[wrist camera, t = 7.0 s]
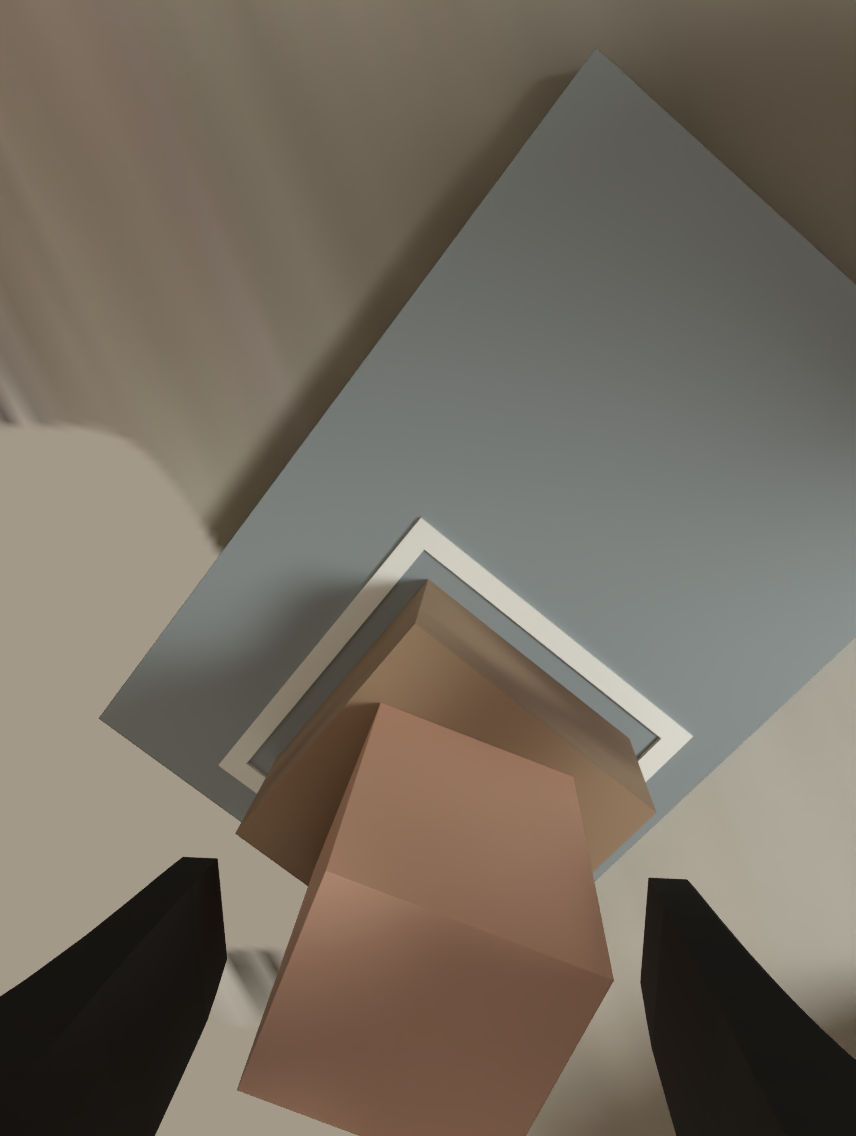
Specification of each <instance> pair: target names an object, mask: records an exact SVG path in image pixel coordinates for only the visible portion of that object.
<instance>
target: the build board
mask: <svg viewBox="0 0 856 1136" xmlns="http://www.w3.org/2000/svg"><path fill="white" fill-rule="evenodd" d="M428 579H429V580H430V581H431V582H433V583H434V584H435V585H436V586H438V587H439V588H440V589H442V590H443V591H444V592H445V593H447V594H448V595H449V596H450V597H452V598H453V599H454V600H455V601H457V602H458V603H459V604H460V605H462V606H463V607H464V608H465V609H467V610H468V611H469V612H471V613H472V614H473V615H474V616H476V617H477V618H478V619H479V620H481V621H482V622H483V623H484V624H486V625H487V626H488V627H489V628H491V629H492V630H493V631H494V632H496V633H497V634H498V635H500V636H501V637H502V638H503V639H505V640H506V641H507V642H508V643H510V644H511V645H512V646H513V647H515V648H516V649H517V650H518V651H520V652H521V653H522V654H523V655H525V656H526V657H527V658H529V659H530V660H531V661H532V662H534V663H535V664H536V665H537V666H539V667H540V668H541V669H542V670H544V671H545V672H546V673H547V674H549V675H550V676H551V677H552V678H554V679H555V680H556V681H558V682H559V683H560V684H561V685H563V686H564V687H565V688H566V689H568V690H569V691H570V692H571V693H573V694H574V695H575V696H576V697H578V698H579V699H580V700H581V701H583V702H584V703H585V704H587V705H588V706H589V707H590V708H592V709H593V710H594V711H595V712H597V713H598V714H599V715H600V716H602V717H603V718H604V719H605V720H607V721H608V722H609V723H610V724H612V725H613V726H614V727H616V728H617V729H618V730H619V731H621V732H622V733H623V734H624V735H626V736H627V737H628V738H629V739H630V742H631V744H632V747H633V750H634V753H635V755H636V758H637V761H638V763H639V766H640V769H641V772H642V774H643V777H644V780H645V783H646V785H647V788H648V791H649V794H650V796H651V799H652V802H653V804H654V807H655V810H656V813H655V814H654V815H653V816H652V817H651V818H650V819H649V820H648V821H647V822H646V823H645V824H644V825H643V826H641V827H640V828H639V829H638V830H637V831H636V832H635V833H634V834H633V835H632V836H631V837H630V838H629V839H628V840H627V841H626V842H624V843H623V844H622V845H621V846H620V847H619V848H618V849H617V850H616V851H615V852H614V853H613V854H612V855H611V856H610V857H609V858H607V859H606V860H605V861H604V862H603V863H602V864H601V865H600V866H599V867H598V868H597V869H596V870H595V871H594V872H593V878H594V882H595V881H596V880H597V879H598V878H599V877H600V876H601V875H602V874H603V873H604V872H605V871H606V870H607V869H609V868H610V867H611V866H612V865H613V864H614V863H615V862H616V861H617V860H618V859H619V858H620V857H621V856H622V855H623V854H625V853H626V852H627V851H628V850H629V849H630V848H631V847H632V846H633V845H634V844H635V843H636V842H637V841H638V840H640V839H641V838H642V837H643V836H644V835H645V834H646V833H647V832H648V831H649V830H650V829H651V828H652V827H653V826H654V825H656V824H657V823H658V822H659V821H660V820H661V819H662V818H663V817H664V816H665V815H666V814H667V813H668V812H669V811H670V810H672V809H673V808H674V807H675V806H676V805H677V804H678V803H679V802H680V801H681V800H682V799H683V798H684V797H685V796H686V795H688V794H689V793H690V792H691V791H692V790H693V789H694V788H695V787H696V786H697V785H698V784H699V783H700V782H701V781H702V780H704V779H705V778H706V777H707V776H708V775H709V774H710V773H711V772H712V771H713V770H714V769H715V768H716V767H717V766H718V765H720V764H721V763H722V762H723V761H724V760H725V759H726V758H727V757H728V756H729V755H730V754H731V753H732V752H733V751H735V750H736V749H737V748H738V747H739V746H740V745H741V744H742V743H743V742H744V741H745V740H746V739H747V738H748V737H749V736H751V735H752V734H753V733H754V732H755V731H756V730H757V729H758V728H759V727H760V726H761V725H762V724H763V723H764V722H765V721H767V720H768V719H769V718H770V717H771V716H772V715H773V714H774V713H775V712H776V711H777V710H778V709H779V708H780V707H781V706H783V705H784V704H785V703H786V702H787V701H788V700H789V699H790V698H791V697H792V696H793V695H794V694H795V693H796V692H797V691H799V690H800V689H801V688H802V687H803V686H804V685H805V684H806V683H807V682H808V681H809V680H810V679H811V678H812V677H813V676H815V675H816V674H817V673H818V672H819V671H820V670H821V669H822V668H823V667H824V666H825V665H826V664H827V663H828V662H830V661H831V660H832V659H833V658H834V657H835V656H836V655H837V654H838V653H839V652H840V651H841V650H842V649H843V648H844V647H846V646H847V645H848V644H849V643H850V642H851V641H852V640H853V639H854V638H855V637H856V284H855V283H854V282H852V281H851V280H850V279H849V278H848V277H847V276H846V275H845V274H844V273H843V272H842V271H840V270H839V269H838V268H837V267H836V266H835V265H834V264H833V263H832V262H831V261H829V260H828V259H827V258H826V257H825V256H824V255H823V254H822V253H821V252H820V251H819V250H817V249H816V248H815V247H814V246H813V245H812V244H811V243H810V242H809V241H808V240H806V239H805V238H804V237H803V236H802V235H801V234H800V233H799V232H798V231H797V230H796V229H794V228H793V227H792V226H791V225H790V224H789V223H788V222H787V221H786V220H785V219H783V218H782V217H781V216H780V215H779V214H778V213H777V212H776V211H775V210H774V209H773V208H771V207H770V206H769V205H768V204H767V203H766V202H765V201H764V200H763V199H762V198H760V197H759V196H758V195H757V194H756V193H755V192H754V191H753V190H752V189H751V188H749V187H748V186H747V185H746V184H745V183H744V182H743V181H742V180H741V179H740V178H739V177H737V176H736V175H735V174H734V173H733V172H732V171H731V170H730V169H729V168H728V167H726V166H725V165H724V164H723V163H722V162H721V161H720V160H719V159H718V158H717V157H716V156H714V155H713V154H712V153H711V152H710V151H709V150H708V149H707V148H706V147H705V146H703V145H702V144H701V143H700V142H699V141H698V140H697V139H696V138H695V137H694V136H693V135H691V134H690V133H689V132H688V131H687V130H686V129H685V128H684V127H683V126H682V125H680V124H679V123H678V122H677V121H676V120H675V119H674V118H673V117H672V116H671V115H670V114H668V113H667V112H666V111H665V110H664V109H663V108H662V107H661V106H660V105H659V104H657V103H656V102H655V101H654V100H653V99H652V98H651V97H650V96H649V95H648V94H647V93H645V92H644V91H643V90H642V89H641V88H640V87H639V86H638V85H637V84H636V83H634V82H633V81H632V80H631V79H630V78H629V77H628V76H627V75H626V74H625V73H624V72H622V71H621V70H620V69H619V68H618V67H617V66H616V65H615V64H614V63H613V62H611V61H610V60H609V59H608V58H607V57H606V56H605V55H604V54H603V53H602V52H601V51H599V50H598V49H597V48H595V50H594V51H593V52H592V54H591V55H590V57H589V58H588V59H587V61H586V62H585V63H584V65H583V66H582V67H581V69H580V70H579V71H578V73H577V74H576V75H575V77H574V78H573V79H572V81H571V82H570V83H569V85H568V86H567V88H566V89H565V90H564V92H563V93H562V94H561V96H560V97H559V98H558V100H557V101H556V102H555V104H554V105H553V106H552V108H551V109H550V110H549V112H548V113H547V115H546V116H545V117H544V119H543V120H542V121H541V123H540V124H539V125H538V127H537V128H536V129H535V131H534V132H533V133H532V135H531V136H530V137H529V139H528V140H527V141H526V143H525V144H524V146H523V147H522V148H521V150H520V151H519V152H518V154H517V155H516V156H515V158H514V159H513V160H512V162H511V163H510V164H509V166H508V167H507V168H506V170H505V171H504V172H503V174H502V175H501V177H500V178H499V179H498V181H497V182H496V183H495V185H494V186H493V187H492V189H491V190H490V191H489V193H488V194H487V195H486V197H485V198H484V199H483V201H482V202H481V204H480V205H479V206H478V208H477V209H476V210H475V212H474V213H473V214H472V216H471V217H470V218H469V220H468V221H467V222H466V224H465V225H464V226H463V228H462V229H461V230H460V232H459V233H458V235H457V236H456V237H455V239H454V240H453V241H452V243H451V244H450V245H449V247H448V248H447V249H446V251H445V252H444V253H443V255H442V256H441V257H440V259H439V260H438V261H437V263H436V264H435V266H434V267H433V268H432V270H431V271H430V272H429V274H428V275H427V276H426V278H425V279H424V280H423V282H422V283H421V284H420V286H419V287H418V288H417V290H416V291H415V293H414V294H413V295H412V297H411V298H410V299H409V301H408V302H407V303H406V305H405V306H404V307H403V309H402V310H401V311H400V313H399V314H398V315H397V317H396V318H395V319H394V321H393V322H392V324H391V325H390V326H389V328H388V329H387V330H386V332H385V333H384V334H383V336H382V337H381V338H380V340H379V341H378V342H377V344H376V345H375V346H374V348H373V349H372V351H371V352H370V353H369V355H368V356H367V357H366V359H365V360H364V361H363V363H362V364H361V365H360V367H359V368H358V369H357V371H356V372H355V373H354V375H353V376H352V377H351V379H350V380H349V382H348V383H347V384H346V386H345V387H344V388H343V390H342V391H341V392H340V394H339V395H338V396H337V398H336V399H335V400H334V402H333V403H332V404H331V406H330V407H329V408H328V410H327V411H326V413H325V414H324V415H323V417H322V418H321V419H320V421H319V422H318V423H317V425H316V426H315V427H314V429H313V430H312V431H311V433H310V434H309V435H308V437H307V438H306V440H305V441H304V442H303V444H302V445H301V446H300V448H299V449H298V450H297V452H296V453H295V454H294V456H293V457H292V458H291V460H290V461H289V462H288V464H287V465H286V466H285V468H284V469H283V471H282V472H281V473H280V475H279V476H278V477H277V479H276V480H275V481H274V483H273V484H272V485H271V487H270V488H269V489H268V491H267V492H266V493H265V495H264V496H263V497H262V499H261V500H260V502H259V503H258V504H257V506H256V507H255V508H254V510H253V511H252V512H251V514H250V515H249V516H248V518H247V519H246V520H245V522H244V523H243V524H242V526H241V527H240V529H239V530H238V531H237V533H236V534H235V535H234V537H233V538H232V539H231V541H230V542H229V543H228V545H227V546H226V547H225V549H224V550H223V551H222V553H221V554H220V555H219V557H218V558H217V560H216V561H215V562H214V564H213V565H212V567H211V568H210V569H209V570H208V572H207V573H206V574H205V576H204V577H203V578H202V580H201V581H200V582H199V584H198V585H197V587H196V588H195V589H194V591H193V592H192V593H191V595H190V596H189V597H188V599H187V600H186V601H185V603H184V604H183V605H182V607H181V608H180V609H179V611H178V612H177V614H176V615H175V616H174V618H173V619H172V620H171V622H170V623H169V624H168V626H167V627H166V628H165V630H164V631H163V632H162V634H161V635H160V636H159V638H158V639H157V640H156V642H155V643H154V644H153V646H152V647H151V649H150V650H149V651H148V653H147V654H146V655H145V657H144V658H143V659H142V661H141V662H140V663H139V665H138V666H137V667H136V669H135V670H134V672H133V673H132V674H131V676H130V677H129V678H128V680H127V681H126V682H125V684H124V685H123V686H122V688H121V689H120V691H119V692H118V693H117V694H116V696H115V697H114V699H113V700H112V701H111V702H110V704H109V705H108V707H107V708H106V709H105V711H104V712H103V713H102V715H101V716H100V717H99V719H100V720H101V721H103V722H104V723H106V724H107V725H108V726H110V727H111V728H113V729H114V730H115V731H117V732H118V733H119V734H121V735H122V736H124V737H125V738H126V739H128V740H129V741H130V742H132V743H133V744H134V745H136V746H137V747H139V748H140V749H141V750H143V751H144V752H145V753H147V754H148V755H150V756H151V757H152V758H154V759H155V760H156V761H158V762H159V763H161V764H162V765H163V766H165V767H166V768H168V769H169V770H170V771H172V772H173V773H174V774H176V775H177V776H179V777H180V778H181V779H183V780H184V781H185V782H187V783H188V784H190V785H191V786H192V787H194V788H195V789H196V790H198V791H199V792H201V793H202V794H203V795H205V796H206V797H207V798H209V799H210V800H212V801H213V802H214V803H216V804H217V805H218V806H220V807H221V808H223V809H224V810H225V811H227V812H228V813H229V814H231V815H232V816H234V817H235V818H236V819H238V820H239V821H240V822H242V820H243V819H244V817H245V815H246V813H247V811H248V809H249V808H250V806H251V804H252V802H253V800H254V798H255V797H256V795H257V793H258V791H259V789H260V787H261V785H262V784H263V782H264V780H265V778H266V776H267V774H268V773H269V771H270V769H271V767H272V765H273V763H274V762H275V760H276V759H277V757H278V756H279V755H280V754H281V753H282V752H283V750H284V749H285V748H286V747H287V746H288V744H289V743H290V742H291V741H292V740H293V739H294V737H295V736H296V735H297V734H298V733H299V731H300V730H301V729H302V728H303V727H304V725H305V724H306V723H307V722H308V721H309V720H310V718H311V717H312V716H313V715H314V714H315V712H316V711H317V710H318V709H319V708H320V707H321V705H322V704H323V703H324V702H325V701H326V699H327V698H328V697H329V696H330V695H331V694H332V692H333V691H334V690H335V689H336V688H337V686H338V685H339V684H340V683H341V682H342V680H343V679H344V678H345V677H346V676H347V675H348V673H349V672H350V671H351V670H352V669H353V667H354V666H355V665H356V664H357V663H358V662H359V660H360V659H361V658H362V657H363V656H364V654H365V653H366V652H367V651H368V650H369V649H370V647H371V646H372V645H373V644H374V643H375V641H376V640H377V639H378V638H379V637H380V635H381V634H382V633H383V632H384V631H385V630H386V628H387V627H388V626H389V625H390V624H391V622H392V621H393V620H394V619H395V618H396V617H397V615H398V614H399V613H400V612H401V611H402V609H403V608H404V607H405V606H406V605H407V604H408V602H409V601H410V600H411V599H412V598H413V596H414V595H415V594H416V593H417V592H418V590H419V589H420V588H421V587H422V586H423V585H424V583H425V582H426V581H427V580H428Z"/></svg>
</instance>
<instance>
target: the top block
mask: <svg viewBox="0 0 856 1136" xmlns="http://www.w3.org/2000/svg"><path fill="white" fill-rule="evenodd" d="M613 981H614V979H613V974H612V969H611V964H610V959H609V954H608V949H607V944H606V939H605V934H604V929H603V923H602V918H601V913H600V908H599V903H598V898H597V893H596V888H595V883H594V878H593V873H592V868H591V863H590V858H589V853H588V848H587V843H586V838H585V832H584V827H583V822H582V817H581V812H580V807H579V802H578V797H577V792H576V787H575V782H574V777H572V776H569V775H567V774H564V773H562V772H559V771H556V770H554V769H551V768H549V767H546V766H544V765H541V764H538V763H536V762H533V761H531V760H528V759H525V758H523V757H520V756H518V755H515V754H512V753H510V752H507V751H505V750H502V749H499V748H497V747H494V746H492V745H489V744H487V743H484V742H481V741H479V740H476V739H474V738H471V737H468V736H466V735H463V734H461V733H458V732H455V731H453V730H450V729H448V728H445V727H442V726H440V725H437V724H435V723H432V722H430V721H427V720H424V719H422V718H419V717H417V716H414V715H411V714H409V713H406V712H404V711H401V710H398V709H396V708H393V707H391V706H388V705H385V704H383V703H380V706H379V708H378V711H377V713H376V716H375V718H374V721H373V723H372V726H371V728H370V731H369V733H368V736H367V738H366V741H365V743H364V746H363V748H362V751H361V753H360V756H359V758H358V761H357V763H356V766H355V768H354V771H353V773H352V776H351V778H350V781H349V783H348V786H347V788H346V791H345V793H344V796H343V798H342V801H341V803H340V806H339V808H338V811H337V813H336V816H335V818H334V821H333V823H332V826H331V828H330V831H329V833H328V836H327V838H326V841H325V843H324V846H323V848H322V851H321V853H320V856H319V858H318V861H317V863H316V866H315V868H314V871H313V874H312V877H311V880H310V883H309V886H308V888H307V891H306V894H305V897H304V900H303V903H302V906H301V909H300V911H299V914H298V917H297V920H296V923H295V926H294V929H293V931H292V934H291V937H290V940H289V943H288V946H287V948H286V951H285V954H284V957H283V960H282V963H281V966H280V968H279V971H278V974H277V977H276V980H275V983H274V986H273V988H272V991H271V994H270V997H269V1000H268V1003H267V1006H266V1008H265V1011H264V1014H263V1017H262V1020H261V1023H260V1026H259V1028H258V1031H257V1034H256V1037H255V1040H254V1043H253V1046H252V1048H251V1052H250V1054H249V1057H248V1060H247V1063H246V1066H245V1068H244V1071H243V1074H242V1077H241V1080H240V1083H239V1086H238V1088H237V1090H238V1091H241V1092H243V1093H246V1094H249V1095H251V1096H254V1097H257V1098H260V1099H262V1100H265V1101H267V1102H270V1103H273V1104H276V1105H278V1106H281V1107H284V1108H286V1109H289V1110H292V1111H294V1112H297V1113H300V1114H302V1115H305V1116H308V1117H310V1118H313V1119H316V1120H318V1121H321V1122H324V1123H327V1124H329V1125H332V1126H335V1127H337V1128H340V1129H343V1130H345V1131H348V1132H351V1133H353V1134H356V1135H359V1136H526V1134H527V1133H528V1131H529V1129H530V1127H531V1126H532V1124H533V1122H534V1120H535V1118H536V1117H537V1115H538V1113H539V1111H540V1110H541V1108H542V1106H543V1104H544V1103H545V1101H546V1099H547V1097H548V1096H549V1094H550V1092H551V1090H552V1088H553V1087H554V1085H555V1083H556V1081H557V1080H558V1078H559V1076H560V1074H561V1073H562V1071H563V1069H564V1067H565V1066H566V1064H567V1062H568V1060H569V1058H570V1057H571V1055H572V1053H573V1051H574V1050H575V1048H576V1046H577V1044H578V1043H579V1041H580V1039H581V1037H582V1035H583V1034H584V1032H585V1030H586V1028H587V1027H588V1025H589V1023H590V1021H591V1020H592V1018H593V1016H594V1014H595V1013H596V1011H597V1009H598V1007H599V1005H600V1004H601V1002H602V1000H603V998H604V997H605V995H606V993H607V991H608V990H609V988H610V986H611V984H612V983H613Z"/></svg>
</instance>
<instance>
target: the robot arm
mask: <svg viewBox="0 0 856 1136" xmlns="http://www.w3.org/2000/svg"><path fill="white" fill-rule="evenodd" d="M226 960H227V953H226V943H225V933H224V922H223V912H222V901H221V891H220V879H219V869H218V859H216V858H193V857H182V858H181V859H180V860H179V861H177V862H176V863H175V864H173V865H172V866H171V867H170V868H168V869H167V870H166V871H165V872H163V873H162V874H161V875H160V876H158V877H157V878H156V879H155V880H154V881H152V882H151V883H150V884H149V885H148V886H147V887H145V888H144V889H143V890H142V891H140V892H139V893H138V894H137V895H135V896H134V897H133V898H132V899H131V900H129V901H128V902H127V903H126V904H124V905H123V906H122V907H121V908H119V909H118V910H117V911H116V912H114V913H113V914H112V915H111V916H109V917H108V918H107V919H106V920H104V921H103V922H102V923H101V924H100V925H98V926H97V927H96V928H94V929H93V930H92V931H91V932H89V933H88V934H87V935H86V936H84V937H83V938H82V939H80V940H79V941H78V942H77V943H75V944H73V945H72V946H71V947H69V948H68V949H67V950H65V951H64V952H63V953H61V954H60V955H59V956H57V957H56V958H54V959H53V960H52V961H50V962H49V963H48V964H46V965H45V966H44V967H42V968H41V969H40V970H38V971H37V972H35V973H34V974H33V975H31V976H30V977H28V978H27V979H26V980H24V981H23V982H21V983H20V984H18V985H17V986H15V987H14V988H12V989H11V990H9V991H8V992H6V993H5V994H3V995H2V996H0V1136H155V1134H156V1132H157V1130H158V1128H159V1126H160V1123H161V1121H162V1119H163V1117H164V1115H165V1112H166V1110H167V1108H168V1106H169V1104H170V1101H171V1099H172V1097H173V1095H174V1092H175V1091H176V1089H177V1086H178V1084H179V1082H180V1080H181V1078H182V1075H183V1073H184V1071H185V1069H186V1067H187V1064H188V1062H189V1060H190V1058H191V1056H192V1053H193V1051H194V1049H195V1047H196V1045H197V1042H198V1040H199V1038H200V1035H201V1033H202V1031H203V1029H204V1027H205V1024H206V1022H207V1020H208V1017H209V1014H210V1011H211V1008H212V1005H213V1002H214V999H215V996H216V993H217V990H218V986H219V983H220V980H221V977H222V973H223V970H224V967H225V964H226ZM640 982H641V988H642V994H643V1000H644V1006H645V1013H646V1019H647V1024H648V1030H649V1035H650V1041H651V1047H652V1051H653V1054H654V1058H655V1062H656V1065H657V1069H658V1072H659V1076H660V1079H661V1083H662V1087H663V1090H664V1094H665V1097H666V1101H667V1104H668V1108H669V1111H670V1115H671V1118H672V1122H673V1125H674V1129H675V1132H676V1136H856V1060H855V1059H854V1058H853V1057H852V1056H851V1055H849V1054H848V1053H847V1052H846V1051H845V1050H844V1049H843V1048H841V1047H840V1046H839V1045H838V1044H837V1043H836V1042H835V1041H834V1040H833V1039H832V1038H831V1037H830V1036H829V1035H827V1034H826V1033H825V1032H824V1031H823V1030H822V1029H821V1028H820V1027H819V1026H818V1025H817V1024H816V1023H815V1022H814V1021H813V1020H812V1019H811V1018H810V1017H809V1016H808V1015H807V1014H806V1013H805V1012H804V1011H803V1010H802V1009H801V1008H800V1007H799V1006H798V1005H797V1004H796V1003H795V1002H794V1001H793V1000H792V999H791V998H790V997H789V996H788V995H787V994H786V993H785V991H784V990H783V989H782V988H781V987H780V986H779V985H778V984H777V983H776V982H775V981H774V980H773V979H772V977H771V976H770V975H769V974H768V973H767V972H766V971H765V970H764V969H763V968H762V966H761V965H760V964H759V963H758V962H757V961H756V960H755V959H754V958H753V957H752V955H751V954H750V953H749V952H748V951H747V950H746V949H745V947H744V946H743V945H742V944H741V943H740V942H739V941H738V939H737V938H736V937H735V936H734V935H733V933H732V932H731V931H730V930H729V929H728V928H727V926H726V925H725V924H724V923H723V922H722V920H721V919H720V918H719V917H718V916H717V914H716V913H715V912H714V911H713V910H712V908H711V907H710V906H709V905H708V903H707V902H706V901H705V900H704V899H703V897H702V896H701V895H700V894H699V892H698V891H697V890H696V889H695V888H694V886H693V885H692V884H691V883H690V882H689V881H688V880H686V879H664V878H649V880H648V892H647V905H646V918H645V930H644V943H643V956H642V969H641V981H640Z"/></svg>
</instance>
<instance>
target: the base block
mask: <svg viewBox="0 0 856 1136" xmlns="http://www.w3.org/2000/svg"><path fill="white" fill-rule="evenodd" d="M380 703H383V704H385V705H388V706H391V707H393V708H396V709H398V710H401V711H404V712H406V713H409V714H411V715H414V716H417V717H419V718H422V719H424V720H427V721H430V722H432V723H435V724H437V725H440V726H442V727H445V728H448V729H450V730H453V731H455V732H458V733H461V734H463V735H466V736H468V737H471V738H474V739H476V740H479V741H481V742H484V743H487V744H489V745H492V746H494V747H497V748H499V749H502V750H505V751H507V752H510V753H512V754H515V755H518V756H520V757H523V758H525V759H528V760H531V761H533V762H536V763H538V764H541V765H544V766H546V767H549V768H551V769H554V770H556V771H559V772H562V773H564V774H567V775H569V776H572V777H574V782H575V787H576V792H577V797H578V802H579V807H580V812H581V817H582V822H583V827H584V832H585V838H586V843H587V848H588V853H589V858H590V863H591V868H592V873H593V872H594V871H595V870H596V869H597V868H598V867H599V866H600V865H601V864H602V863H603V862H604V861H605V860H606V859H607V858H609V857H610V856H611V855H612V854H613V853H614V852H615V851H616V850H617V849H618V848H619V847H620V846H621V845H622V844H623V843H624V842H626V841H627V840H628V839H629V838H630V837H631V836H632V835H633V834H634V833H635V832H636V831H637V830H638V829H639V828H640V827H641V826H643V825H644V824H645V823H646V822H647V821H648V820H649V819H650V818H651V817H652V816H653V815H654V814H655V813H656V810H655V807H654V804H653V802H652V799H651V796H650V794H649V791H648V788H647V785H646V783H645V780H644V777H643V774H642V772H641V769H640V766H639V763H638V761H637V758H636V755H635V753H634V750H633V747H632V744H631V742H630V739H629V738H628V737H627V736H626V735H624V734H623V733H622V732H621V731H619V730H618V729H617V728H616V727H614V726H613V725H612V724H610V723H609V722H608V721H607V720H605V719H604V718H603V717H602V716H600V715H599V714H598V713H597V712H595V711H594V710H593V709H592V708H590V707H589V706H588V705H587V704H585V703H584V702H583V701H581V700H580V699H579V698H578V697H576V696H575V695H574V694H573V693H571V692H570V691H569V690H568V689H566V688H565V687H564V686H563V685H561V684H560V683H559V682H558V681H556V680H555V679H554V678H552V677H551V676H550V675H549V674H547V673H546V672H545V671H544V670H542V669H541V668H540V667H539V666H537V665H536V664H535V663H534V662H532V661H531V660H530V659H529V658H527V657H526V656H525V655H523V654H522V653H521V652H520V651H518V650H517V649H516V648H515V647H513V646H512V645H511V644H510V643H508V642H507V641H506V640H505V639H503V638H502V637H501V636H500V635H498V634H497V633H496V632H494V631H493V630H492V629H491V628H489V627H488V626H487V625H486V624H484V623H483V622H482V621H481V620H479V619H478V618H477V617H476V616H474V615H473V614H472V613H471V612H469V611H468V610H467V609H465V608H464V607H463V606H462V605H460V604H459V603H458V602H457V601H455V600H454V599H453V598H452V597H450V596H449V595H448V594H447V593H445V592H444V591H443V590H442V589H440V588H439V587H438V586H436V585H435V584H434V583H433V582H431V581H430V580H429V579H428V580H427V581H426V582H425V583H424V585H423V586H422V587H421V588H420V589H419V590H418V592H417V593H416V594H415V595H414V596H413V598H412V599H411V600H410V601H409V602H408V604H407V605H406V606H405V607H404V608H403V609H402V611H401V612H400V613H399V614H398V615H397V617H396V618H395V619H394V620H393V621H392V622H391V624H390V625H389V626H388V627H387V628H386V630H385V631H384V632H383V633H382V634H381V635H380V637H379V638H378V639H377V640H376V641H375V643H374V644H373V645H372V646H371V647H370V649H369V650H368V651H367V652H366V653H365V654H364V656H363V657H362V658H361V659H360V660H359V662H358V663H357V664H356V665H355V666H354V667H353V669H352V670H351V671H350V672H349V673H348V675H347V676H346V677H345V678H344V679H343V680H342V682H341V683H340V684H339V685H338V686H337V688H336V689H335V690H334V691H333V692H332V694H331V695H330V696H329V697H328V698H327V699H326V701H325V702H324V703H323V704H322V705H321V707H320V708H319V709H318V710H317V711H316V712H315V714H314V715H313V716H312V717H311V718H310V720H309V721H308V722H307V723H306V724H305V725H304V727H303V728H302V729H301V730H300V731H299V733H298V734H297V735H296V736H295V737H294V739H293V740H292V741H291V742H290V743H289V744H288V746H287V747H286V748H285V749H284V750H283V752H282V753H281V754H280V755H279V756H278V757H277V759H276V760H275V762H274V763H273V765H272V767H271V769H270V771H269V773H268V774H267V776H266V778H265V780H264V782H263V784H262V785H261V787H260V789H259V791H258V793H257V795H256V797H255V798H254V800H253V802H252V804H251V806H250V808H249V809H248V811H247V813H246V815H245V817H244V819H243V820H242V822H241V824H240V826H239V828H238V830H237V832H236V834H237V835H238V836H239V837H241V838H242V839H244V840H245V841H246V842H248V843H249V844H251V845H252V846H253V847H255V848H256V849H257V850H259V851H260V852H261V853H263V854H264V855H266V856H267V857H268V858H270V859H271V860H273V861H274V862H275V863H277V864H278V865H279V866H281V867H282V868H284V869H285V870H287V871H288V872H289V873H291V874H292V875H293V876H295V877H296V878H297V879H299V880H300V881H302V882H303V883H304V884H306V885H307V886H309V883H310V880H311V877H312V874H313V871H314V868H315V866H316V863H317V861H318V858H319V856H320V853H321V851H322V848H323V846H324V843H325V841H326V838H327V836H328V833H329V831H330V828H331V826H332V823H333V821H334V818H335V816H336V813H337V811H338V808H339V806H340V803H341V801H342V798H343V796H344V793H345V791H346V788H347V786H348V783H349V781H350V778H351V776H352V773H353V771H354V768H355V766H356V763H357V761H358V758H359V756H360V753H361V751H362V748H363V746H364V743H365V741H366V738H367V736H368V733H369V731H370V728H371V726H372V723H373V721H374V718H375V716H376V713H377V711H378V708H379V706H380Z"/></svg>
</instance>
